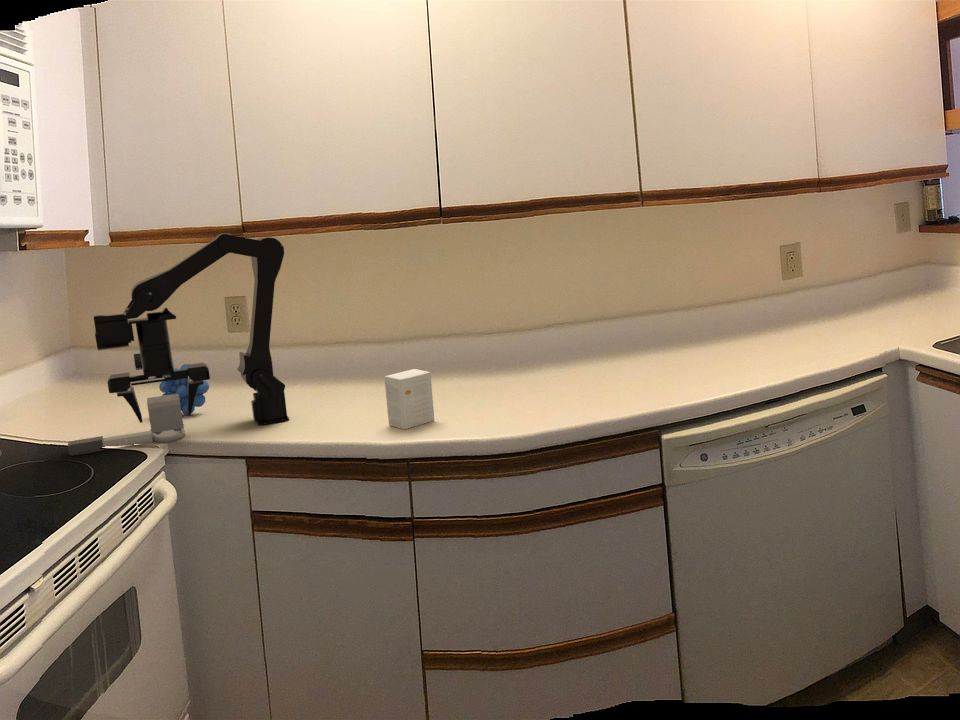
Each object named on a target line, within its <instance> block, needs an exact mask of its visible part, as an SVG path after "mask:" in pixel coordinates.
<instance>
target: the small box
mask: <svg viewBox="0 0 960 720" xmlns="http://www.w3.org/2000/svg"><path fill="white" fill-rule="evenodd" d="M383 379H384V386H385V387H384V388H385V399H386V408H387V419H388V425H389V426H390V427H394V428H397V429H401V430H408V428H409V429H411V427H412V428H414V426H415V427H419V426H421V425H424V423H425V424H427V422H428V423H430V422H434V421H435V412H434V411H435V409H434V399H433V388H432V387H433V385H432V374H431V372H430V371H426V370H421V369H417V368H413V369H412V368H411V369H409V370H404V371H400V372H395V373H393V374H389V375H385V376H384V378H383Z"/></svg>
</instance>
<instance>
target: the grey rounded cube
mask: <svg viewBox="0 0 960 720" xmlns="http://www.w3.org/2000/svg"><path fill="white" fill-rule="evenodd" d="M146 405H147V406H146V407H147V412H148V418H149V424H150V429H151V432H152V433H156V432H162V431H168V430H175V429H181V428H184V429H185V425H184V426H183V424H184V422H183V421H184V420H183V415H182V414H183V413H182V410H181V406H180V399H179V395H178V394H172V395H165V396H162V395H161V396H153V397H147V398H146Z"/></svg>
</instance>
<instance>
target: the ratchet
mask: <svg viewBox="0 0 960 720" xmlns="http://www.w3.org/2000/svg"><path fill="white" fill-rule="evenodd" d="M183 426H184V428H181V429H175V430H168V431H162V432H156V433H152V432H151V428H150V429H149V430H146V431H139V432H135V433H134V432H133V433H127V434H122V435H114V436H109V437H108V436H107V437H104V436H102V435H101V436H96V437H88V438H81V439H76V440H71V441H70V440H69V441H68V443H67V450H68V455H70V454H74V453H78V452H83V451H87V450H92V449H100V448H102V447H105V446H119V445H121V446H122V445H134V444H143V445H147V444H148V443H149V444H153V443H154V444H170V443H174V442H178V441H181V440H183V439H185V438H186V431H185V424H184V423H183ZM184 437H185V438H184Z"/></svg>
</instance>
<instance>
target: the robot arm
mask: <svg viewBox="0 0 960 720" xmlns="http://www.w3.org/2000/svg"><path fill="white" fill-rule="evenodd" d="M227 254H235V255H240V256H245V257H250V261H251V267H252V272H253V277H254V281H253V282H254V285H253V296H252V309H251V320H250V331H249V332H250V333H249V343H248V346H247V349H246V351H245V352H243V351H239V353H238V354H239V364H238V367H237V370H236V371H238V372H239V373H240V377H241V379H242V380H243V381H244V382H245V383H246V385H248V386H249V387H250V388H251V389H253V391H255V392H253V393H252V396H253V399H252V400H250V401H251V402H250V403H251V411H252V412H251V413H252V419H253V420H254V422H256V423H257V425H258V426H262V425H263V426H264V425H267V424H274V423H279V422H285V421H289V420H290V417H289V416H288V412H287V403H286V396H285V395H286V393H285V389H286V384H285V383H283V382H282V380H280V379H279V378H277V377H276V376H275V375H274V369H273V367H274V366H273V361H272V354H271V350H270V342H271V331H272V329H271V328H272V319H273V308H274V307H273V305H274V295H275V285H276V280H277V278H278V275H279V272H280V271H281V267H282V265H283V264H282V263H283V259H284V256H285V247H284V245H283V244H282V242H281V241H280V240H279V239H277V238H274V237H258V238H256V239H253V238H249V237H242V236H237V235H233V234H232V233H227V232H226V233H225V232H224V233H220V234H217V235H216V236H215V237H214V238H213V239H212V240H210V241H209V242H207V243H206V244H205V245H203V246H201V247H200V248H198V249H197V250H196V251H194V252H192V253H191V254H190V255H188V256H186V257H184V258H183V259H182V260H180V261H179V262H178V263H176V264H174V265H173V266H172V267H169V268H167V269H166V270H163V271H162V272H159V273H156V274H154V275H152V276H149V277H147V278H144V279H142V280H140V281H137V282H136V283H135V284H134V285H132V288H131V289H130V290H131V291H130V298H131V299H130V302H129V303H128V304H127V306H126V307H125V308H124V311H123V313H115V314H106V315H105V314H96V315H94V316H93V322H94V328H95V331H94V337H95V342H96V347H97V351H104V350H106V351H107V350H114V349H119V348H129V347H130V344H131V343H132V342H135V336H134V329H133V325H134V324H135V329H136V336H137V342H138V347H139V349H138V350H139V353H134V354H133V361H134V368H135V370H136V371H139V370H142V374H140V375H133V376H132V375H130V372H123V373H115V374H110V375H109V376H108V378H107V389H108V393H109V394H116V396H117V397H123V398H124V400H125V401H126V402H127V404H129V406H130V407H131V409H132V410H133V412H134V414H135V416H136V418H137V419H138V421H139V423H143V416H142V411H141V409H140V405H139V402H138V398H137V396H136V391H135V389H134V386H139V385H141V386H142V385H147V384H155V383H161V382H162V381H169V380H177V379H184V378H188V379H187V396H188V413H189V415H188V416H192V414H191V412H192V407H193V402H194V398H195V395H196V392H197V389H198V387H199V385H203V384H204V382H203V381H207V380H210V379H211V375H210V370H209V369H210V368H209V367H208V364H206V363H204V362H197V363H191V364H190V363H188V364H189V365H187V369H183V370H179V369H178V370H176V371H174V368H175V367H174V361H173V356H172V355H173V354H172V349H171V348H172V347H171V342H170V336H169V330H168V329H169V328H168V327H169V326H168V321H169V320H177V315H175V313H172V312H171V311H170V310H169V309H168V308H167V307H166V306H165V307H163V309H162V311H156V312H154V311H155V310H157V309H159V308H160V307H161V306H162V305H163V304H165V302H167V301H168V300H169V298H171V296H172V295H173V294H174V293H175V292H176V291H177V290H178V289H179V288H180V286H182V285H183V284H185V283H186V282H187V281H189V280H191V279H192V278H193V277H195V276H196V275H198V274H200V273H201V272H202V271H204V270H205V269H206V268H208V267H210V266H211V265H213V264H215V263H216V262H217V261H218V260H220V259H222V258H223V257H225V256H226V255H227ZM145 312H148V313H146V317H144V318H139V317H140V316H142V315H143V314H144V313H145ZM167 376H170V377H167ZM151 377H152V378H151Z"/></svg>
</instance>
